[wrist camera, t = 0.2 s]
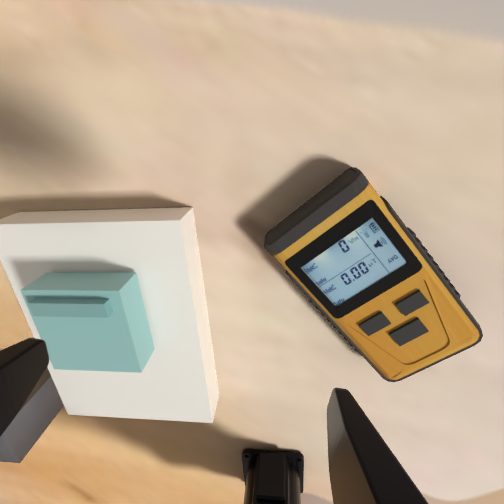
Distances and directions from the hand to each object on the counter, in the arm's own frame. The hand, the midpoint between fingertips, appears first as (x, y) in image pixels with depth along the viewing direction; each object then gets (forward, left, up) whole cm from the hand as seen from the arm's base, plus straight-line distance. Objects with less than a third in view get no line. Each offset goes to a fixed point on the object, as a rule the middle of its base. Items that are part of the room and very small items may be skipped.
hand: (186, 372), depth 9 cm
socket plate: (-8, +11, -14) cm, 20 cm away
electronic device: (-5, -9, -15) cm, 18 cm away
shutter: (-6, +11, -11) cm, 16 cm away
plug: (-17, +22, -14) cm, 31 cm away
